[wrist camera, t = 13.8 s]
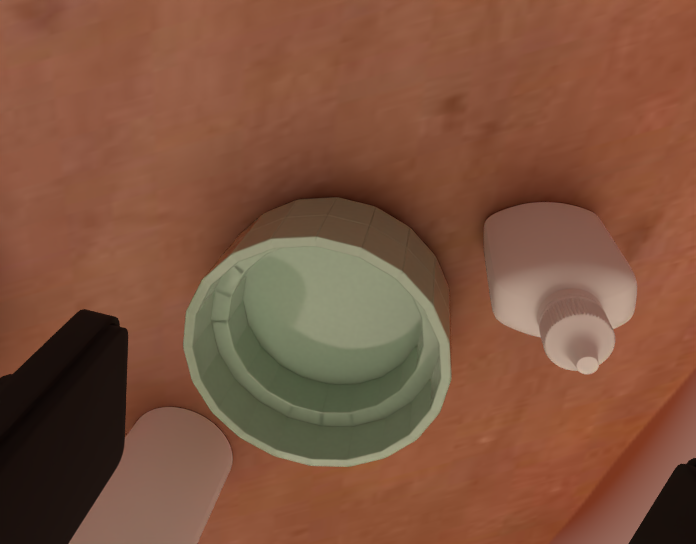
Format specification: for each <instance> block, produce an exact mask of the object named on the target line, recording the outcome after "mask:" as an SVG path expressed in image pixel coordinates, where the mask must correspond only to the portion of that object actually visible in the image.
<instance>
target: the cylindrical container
mask: <svg viewBox="0 0 696 544" xmlns="http://www.w3.org/2000/svg"><path fill="white" fill-rule="evenodd" d="M232 462H233V457H232V450H231V446H230V444H229V442H228V440H227V438H226V437H225V435H224V434H223V433H222V431H221V430H220V429H219V428H218V427H217V426H216V425H215V424H214V423H213V422H211V421H210V420H208V419H207V418H205V417H204V416H202V415H200V414H198V413H196V412H193V411H190V410H187V409H184V408H177V407H162V408H156V409H154V410H151V411H148V412H147V413H145V414H144V415H142V416H141V417H140V418H139V419H138V421H137V422H136V423H135V425H134V426H133V427H132V429H131V430H130V432H129V433H128V434H127V436H126V437H125V444H124V451H123V455H122V458H121V460H120V463H119V465H118V467H117V468H116V470H115V471H114V473H113V475H112V476H111V478H110V479H109V481H108V482H107V484H106V486H105V487H104V489H103V490H102V492H101V493H100V495H99V497H98V498H97V500H96V501H95V503H94V504H93V506H92V508H91V509H90V511H89V512H88V514H87V515H86V517H85V518H84V520H83V522H82V523H81V525H80V526H79V528H78V529H77V531H76V533H75V534H74V536H73V537H72V539H71V540H70V542H69V544H197V543H198V541H199V539H200V536H201V534H202V532H203V530H204V527H205V525H206V523H207V521H208V519H209V516H210V514H211V512H212V510H213V507H214V505H215V503H216V501H217V499H218V496H219V494H220V492H221V490H222V487H223V485H224V483H225V481H226V479H227V476H228V474H229V472H230V470H231V466H232Z"/></svg>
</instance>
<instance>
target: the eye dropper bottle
mask: <svg viewBox="0 0 696 544" xmlns="http://www.w3.org/2000/svg"><path fill="white" fill-rule="evenodd" d="M484 256H485V264H486V271H487V278H488V285H489V293H490V299H491V305H492V310H493V312H494V315H495V317H496V319H497V320H499V321H500V322H501V323H502V324H504V325H506V326H508V327H510V328H512V329H515V330H517V331H520V332H523V333H526V334H529V335H532V336H537V337H541V339H542V343H543V347H544V350H545V352H546V355H547V356H548V358H549V359H550V360H552V362H553V363H554V364H556V365H557V366H560V367H561V368H564V369H567V370H574V371H579V372H580V373H583V374H591V373H594V372H595V371H596V370H597V369H598V366H599V365H600V364H602V362H604V361H605V360H606V359H607V358H608V357H609V355H610V354H611V352H612V351H613V348H614V345H615V334H614V331H613V329H615V328H617V327H619V326H621V325H623V324H625V323H626V322H627V321H629V320H630V319H631V317H632V316H633V314H634V310H635V305H636V297H637V282H636V278H635V275H634V273H633V271H632V269H631V267H630V266H629V264H628V262H627V261H626V259H625V257H624V256H623V254H622V253H621V251H620V249H619V248H618V246H617V245H616V243H615V241H614V240H613V238H612V237H611V235H610V234H609V232H608V230H607V229H606V227H605V226H604V224H603V223H602V221H601V220H600V218H599V217H598V216H597V215H596V214H595V213H593V212H591V211H589V210H587V209H584V208H581V207H577V206H574V205H569V204H564V203H556V202H535V203H527V204H521V205H517V206H513V207H510V208H507V209H504V210H501V211H499V212H497V213H495V214H493V215H491V216H490V217H489V218H488V219H487V220H486V221H485V224H484Z"/></svg>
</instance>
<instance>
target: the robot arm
mask: <svg viewBox="0 0 696 544" xmlns="http://www.w3.org/2000/svg"><path fill="white" fill-rule="evenodd" d="M127 356H128V331H127V329H126V328H122V327H120V324H119V320H118V318H116V317H114V316H110V315H106V314H102V313H98V312H94V311H89V310H85V309H84V310H80V311H79V312H77V313H76V314H75V315H74V316H73V317H72V318H71V319H70V320H69V321H68V322H67V323H66V324H65V325H64V326H63V327H62V328H60V329H59V330H58V331H57V332H56V333H55V334H54V335H53V336H52V337H51V338H50V339H49V340H48V341H47V342H46V343H45V344H44V345H43V346H42V347H41V348H40V349H39V350H38V351H36V352H35V353H34V354H33V355H32V356H31V357H30V358H29V359H28V360H27V361H26V362H25V363H24V364H23V365H22V366H21V367H20V368H19V369H18V370H17V371H16V372H15V373H14V374H9V375H6V376H3V377H1V378H0V544H69V542H70V540H71V539H72V537H73V536H74V534H75V533H76V531H77V529H78V528H79V526H80V525H81V523H82V522H83V520H84V518H85V517H86V515H87V514H88V512H89V511H90V509H91V508H92V506H93V504H94V503H95V501H96V500H97V498H98V497H99V495H100V493H101V492H102V490H103V489H104V487H105V486H106V484H107V482H108V481H109V479H110V478H111V476H112V475H113V473H114V471H115V470H116V468H117V467H118V465H119V463H120V460H121V458H122V455H123V451H124V444H125V415H126V385H127ZM629 544H696V458H693V459H691V460H689V461H688V463H687V464H680V465H678V466H677V467H676V468H675V470H674V471H673V473H672V475H671V476H670V478H669V479H668V481H667V483H666V484H665V486H664V487H663V489H662V491H661V492H660V494H659V495H658V497H657V499H656V500H655V502H654V504H653V505H652V507H651V508H650V510H649V512H648V513H647V515H646V516H645V518H644V520H643V521H642V523H641V524H640V526H639V528H638V529H637V531H636V533H635V534H634V536H633V538H632V539H631V541H630V542H629Z"/></svg>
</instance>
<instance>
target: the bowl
mask: <svg viewBox="0 0 696 544" xmlns="http://www.w3.org/2000/svg"><path fill="white" fill-rule="evenodd" d="M183 349H184V353H185V356H186V360H187V364H188V368H189V371H190V375H191V379H192V381H193V383H194V385H195V387H196V388H197V390H198V391H199V393H200V394H201V396H202V398H203V399H204V401H205V402H206V404H207V405H208V407H209V409H210V410H211V412H212V413H213V414H214V415H215V416H216V417H218V418H219V419H220V420H221V421H222V422H223V423H224V424H225V425H226V426H228V427H229V428H230V429H231V430H232V431H233V432H234V433H235V434H236V435H237V436H239V437H240V438H241V439H243V440H245V441H247V442H249V443H251V444H252V445H254V446H256V447H258V448H260V449H262V450H264V451H265V452H267V453H269V454H271V455H273V456H276V457H279V458H283V459H287V460H291V461H294V462H298V463H302V464H306V465H309V466H311V465H312V466H336V467H349V466H350V467H351V466H355V465H359V464H363V463H367V462H371V461H375V460H380V459H384V458H385V457H388V456H390V455H392V454H393V453H395V452H397V451H398V450H400V449H402V448H404V447H405V446H407V445H409V444H410V443H412V442H414V441H416V439H418V438H419V437H420V435H421V434H422V433H423V432H424V431H425V430H426V428H427V427H428V426H429V425H430V424H431V422H432V421H433V420H434V419H435V418H436V417H437V415H438V414H439V413H440V411H441V408H442V405H443V402H444V399H445V396H446V394H447V391H448V388H449V385H450V382H451V310H450V290H449V287H448V284H447V282H446V279H445V277H444V275H443V272H442V270H441V268H440V265H439V263H438V261H437V258H436V256H435V255H434V254H433V252H432V251H431V250H430V249H429V248H428V247H427V246H426V245H425V243H424V242H423V241H422V240H421V239H420V238H419V237H418V236H417V235H416V233H415V232H414V231H413V230H412V229H411V228H409V226H407V225H405V224H404V223H402V222H400V221H399V220H397V219H395V218H394V217H392V216H390V215H389V214H387V213H385V212H384V211H382V210H380V209H379V208H377V207H375V206H371V205H367V204H363V203H359V202H355V201H351V200H347V199H343V198H338V197H337V198H336V197H331V198H315V199H299V200H295V201H293V202H290V203H288V204H285V205H283V206H280V207H278V208H275V209H273V210H270V211H268V212H265V213H264V214H262V215H261V216H260V217H259V218H258V219H256V220H255V221H254V222H253V223H252V224H251V225H250V226H249V227H247V228H246V229H245V230H244V231H243V232H242V233H241V234H240V235H239V236H238V237H237V238H236V239H235V240H234V242H233V243H232V244H231V245H230V246H229V248H228V249H227V250H226V251H225V252H224V254H223V255H222V256H221V257H220V258H219V260H218V261H217V262H216V263H215V265H214V266H213V267H212V268H211V269H210V271H209V272H208V273H207V274H206V275H205V277H204V278H203V279H202V281H201V283H200V285H199V287H198V289H197V291H196V292H195V294H194V296H193V298H192V300H191V302H190V304H189V306H188V308H187V311H186V318H185V329H184V340H183Z"/></svg>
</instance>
